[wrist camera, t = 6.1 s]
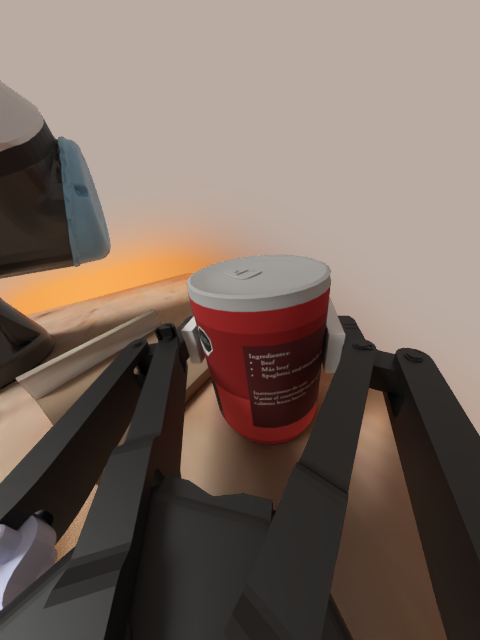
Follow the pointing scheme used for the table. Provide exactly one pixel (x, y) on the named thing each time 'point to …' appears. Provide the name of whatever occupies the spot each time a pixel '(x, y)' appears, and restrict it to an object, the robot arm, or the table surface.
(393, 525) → the table surface
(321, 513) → the robot arm
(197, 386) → the shelf board
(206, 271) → the canned food
